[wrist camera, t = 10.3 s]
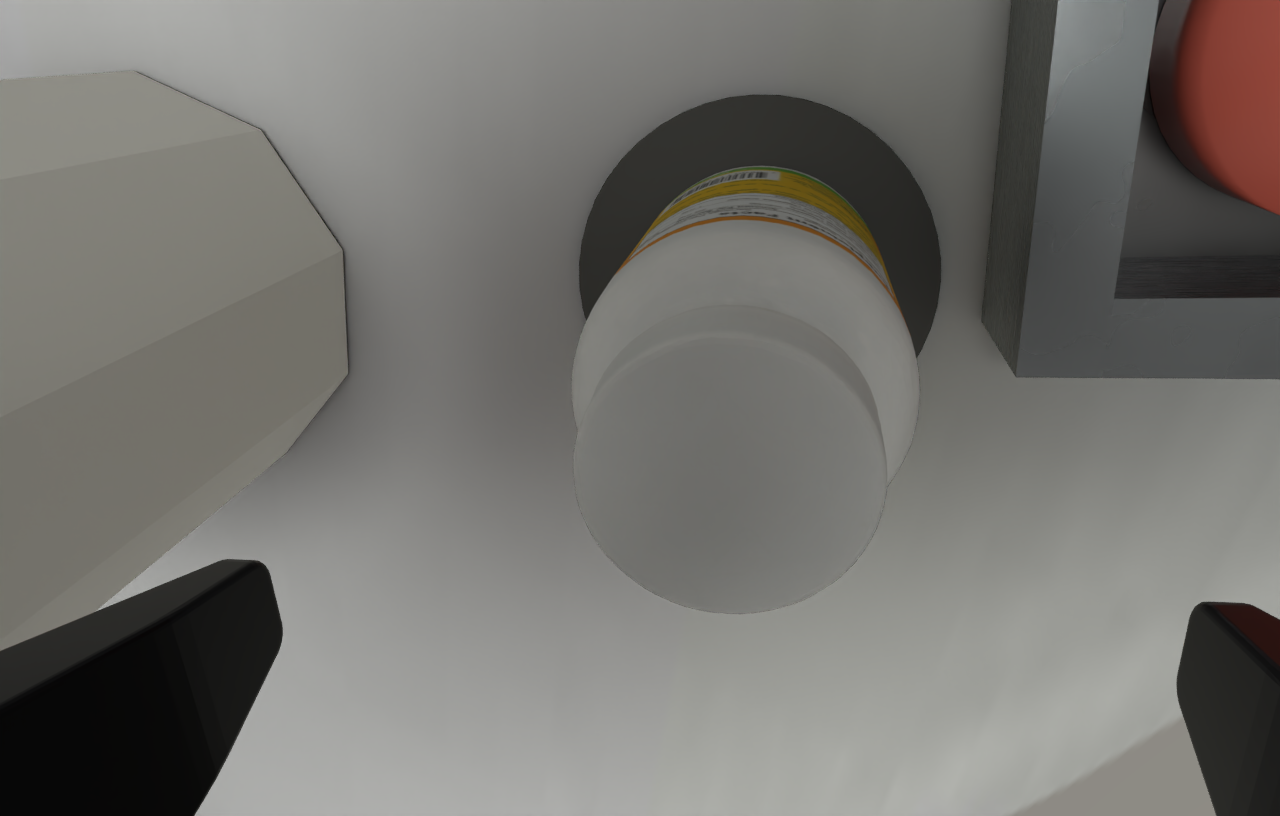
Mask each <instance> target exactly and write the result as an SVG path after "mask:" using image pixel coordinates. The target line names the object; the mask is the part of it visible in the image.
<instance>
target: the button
mask: <svg viewBox="0 0 1280 816" xmlns="http://www.w3.org/2000/svg"><path fill="white" fill-rule="evenodd" d="M1149 75H1150V94H1151V99H1152V104H1153V109H1154V114H1155V116H1156V119H1157V122H1158V125H1159V128H1160V130H1161V133H1162V134H1163V136H1164V138H1165V140H1166V142H1167V144H1168V145H1169V147H1170V149H1171V150H1172V151H1173V153H1174V154H1175V155H1176V157H1177V158H1178V159H1179V160H1180V162H1181V163H1182V164H1183V165H1184V166H1185V167H1186V168H1187V169H1188V170H1189V171H1190V172H1192V173H1193V174H1194V175H1195V176H1196V177H1197V178H1199V179H1200V180H1202V181H1203V182H1205V183H1206V184H1208V185H1209V186H1211V187H1212V188H1214V189H1216V190H1219V191H1221V192H1223V193H1225V194H1227V195H1229V196H1232V197H1234V198H1237V199H1239V200H1242V201H1244V202H1247V203H1249V204H1252V205H1254V206H1257V207H1260V208H1262V209H1265V210H1267V211H1270V212H1272V213H1275V214H1277V215H1280V0H1166V2H1165V4H1164V6H1163V9H1162V12H1161V15H1160V18H1159V21H1158V24H1157V27H1156V31H1155V35H1154V40H1153V44H1152V50H1151V59H1150V71H1149Z"/></svg>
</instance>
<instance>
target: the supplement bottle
mask: <svg viewBox="0 0 1280 816" xmlns="http://www.w3.org/2000/svg"><path fill="white" fill-rule="evenodd" d="M919 403H920V379H919V371H918V364H917V359H916V355H915V350H914V347H913V343H912V339H911V335H910V333H909V330H908V327H907V325H906V322H905V319H904V317H903V314H902V312H901V309H900V306H899V304H898V301H897V298H896V296H895V293H894V290H893V287H892V285H891V282H890V279H889V276H888V273H887V271H886V268H885V265H884V262H883V259H882V256H881V254H880V251H879V249H878V246H877V244H876V241H875V239H874V237H873V236H872V234H871V232H870V230H869V228H868V227H867V225H866V223H865V222H864V220H863V219H862V218H861V216H860V215H859V214H858V212H857V211H856V210H855V209H854V208H853V206H852V205H851V204H850V203H849V202H848V201H847V200H846V199H845V198H844V197H842V196H841V195H840V194H839V193H838V192H836V191H835V190H834V189H833V188H831V187H830V186H828V185H827V184H825V183H823V182H822V181H820V180H818V179H816V178H814V177H812V176H810V175H807V174H805V173H802V172H799V171H796V170H792V169H787V168H781V167H775V166H747V167H739V168H734V169H729V170H725V171H722V172H719V173H716V174H714V175H712V176H709V177H707V178H705V179H703V180H701V181H699V182H697V183H696V184H694V185H693V186H691V187H689V188H688V189H686V190H685V191H684V192H682V193H681V194H680V195H679V196H678V197H676V198H675V199H674V200H673V201H672V202H671V203H670V204H669V205H668V206H667V207H666V208H665V209H664V210H663V211H662V212H661V213H660V215H659V216H658V217H657V219H656V220H655V221H654V222H653V224H652V225H651V227H650V228H649V229H648V231H647V232H646V234H645V235H644V236H643V238H642V239H641V240H640V242H639V243H638V244H637V246H636V247H635V248H634V250H633V251H632V252H631V254H630V255H629V256H628V258H627V259H626V260H625V262H624V263H623V264H622V265H621V267H620V268H619V269H618V271H617V272H616V274H615V275H614V276H613V278H612V279H611V281H610V282H609V284H608V285H607V287H606V288H605V290H604V291H603V293H602V294H601V296H600V297H599V299H598V300H597V302H596V304H595V305H594V307H593V309H592V311H591V313H590V315H589V317H588V319H587V321H586V323H585V325H584V328H583V330H582V333H581V336H580V339H579V341H578V345H577V349H576V353H575V357H574V363H573V371H572V404H573V413H574V418H575V423H576V427H577V430H578V433H577V437H576V442H575V447H574V458H573V474H574V485H575V491H576V496H577V501H578V504H579V507H580V510H581V513H582V516H583V518H584V520H585V522H586V524H587V527H588V528H589V530H590V532H591V534H592V536H593V537H594V539H595V540H596V542H597V543H598V545H599V546H600V547H601V549H602V550H603V551H604V553H605V554H606V555H607V557H608V558H609V559H610V560H611V561H612V562H613V563H614V564H615V565H616V566H617V567H618V568H619V569H620V570H621V571H623V572H624V573H625V574H626V575H627V576H629V577H630V578H631V579H633V580H634V581H635V582H637V583H638V584H639V585H641V586H642V587H643V588H645V589H647V590H649V591H651V592H652V593H654V594H656V595H658V596H660V597H662V598H665V599H667V600H669V601H671V602H674V603H677V604H679V605H682V606H685V607H689V608H693V609H697V610H701V611H707V612H716V613H727V614H746V613H757V612H764V611H770V610H774V609H778V608H782V607H785V606H789V605H792V604H794V603H797V602H800V601H802V600H804V599H807V598H809V597H811V596H812V595H814V594H816V593H817V592H819V591H821V590H822V589H824V588H825V587H827V586H829V585H830V584H832V583H833V582H835V581H836V580H837V579H838V578H839V577H841V576H842V575H843V574H844V573H845V572H846V571H847V570H848V569H849V568H850V567H851V566H852V565H853V564H854V563H855V562H856V561H857V559H858V558H859V557H860V555H861V554H862V553H863V552H864V550H865V548H866V547H867V545H868V544H869V542H870V540H871V539H872V537H873V535H874V533H875V531H876V529H877V526H878V523H879V520H880V517H881V514H882V511H883V507H884V503H885V497H886V492H887V487H888V485H889V484H890V482H891V481H892V479H893V478H894V476H895V475H896V473H897V471H898V470H899V468H900V466H901V465H902V463H903V461H904V459H905V457H906V455H907V452H908V450H909V448H910V445H911V442H912V439H913V436H914V432H915V428H916V424H917V419H918V412H919Z"/></svg>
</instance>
